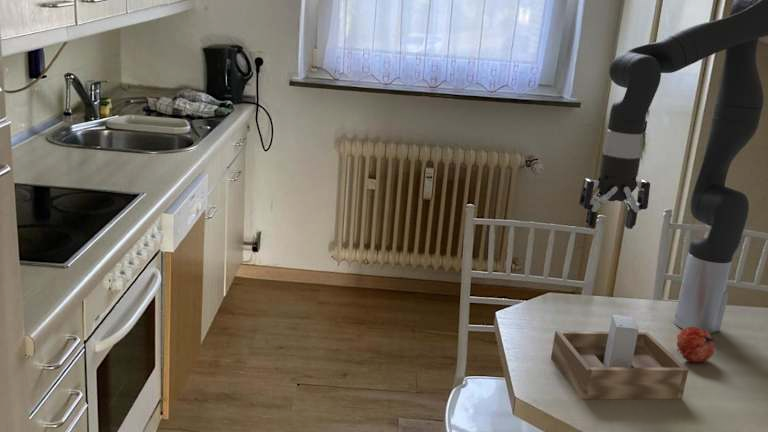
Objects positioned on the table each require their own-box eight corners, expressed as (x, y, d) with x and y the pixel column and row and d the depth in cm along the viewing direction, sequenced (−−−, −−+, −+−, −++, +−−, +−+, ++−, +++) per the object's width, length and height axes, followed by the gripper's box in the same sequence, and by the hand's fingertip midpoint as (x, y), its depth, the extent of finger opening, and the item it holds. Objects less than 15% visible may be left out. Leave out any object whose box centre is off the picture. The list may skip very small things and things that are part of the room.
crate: (642, 358, 161) (647, 332, 159) (682, 398, 146) (688, 370, 144) (550, 357, 158) (555, 331, 156) (581, 399, 143) (587, 369, 141)
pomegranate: (666, 365, 164) (699, 357, 155) (661, 331, 166) (693, 321, 158) (694, 367, 166) (728, 358, 158) (689, 333, 169) (722, 323, 160)
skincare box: (628, 386, 149) (639, 329, 145) (605, 383, 149) (616, 326, 146) (623, 371, 155) (633, 316, 151) (601, 368, 155) (611, 313, 152)
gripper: (644, 149, 164) (632, 222, 169) (581, 147, 161) (570, 222, 166) (663, 157, 157) (649, 233, 162) (597, 156, 154) (585, 233, 159)
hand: (609, 227), depth 164 cm, fingers open, 8 cm apart
